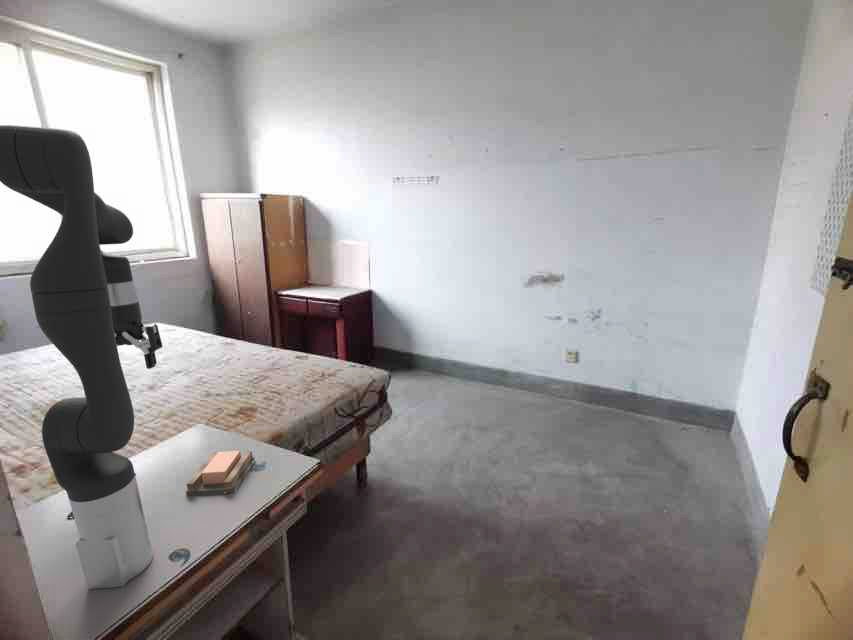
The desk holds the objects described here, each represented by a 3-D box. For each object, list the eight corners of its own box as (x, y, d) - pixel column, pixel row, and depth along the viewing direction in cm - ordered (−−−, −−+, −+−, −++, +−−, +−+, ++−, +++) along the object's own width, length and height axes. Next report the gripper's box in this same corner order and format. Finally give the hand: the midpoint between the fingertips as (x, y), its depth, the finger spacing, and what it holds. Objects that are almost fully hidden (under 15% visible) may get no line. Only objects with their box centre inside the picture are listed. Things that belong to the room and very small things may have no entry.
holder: (234, 492, 95) (232, 481, 94) (186, 495, 94) (184, 484, 94) (255, 460, 107) (253, 450, 107) (212, 463, 107) (210, 452, 106)
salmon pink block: (220, 462, 105) (218, 452, 105) (241, 461, 106) (239, 450, 105) (203, 484, 97) (201, 473, 96) (226, 482, 97) (225, 471, 96)
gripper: (160, 297, 97) (172, 362, 101) (98, 300, 96) (113, 364, 100) (139, 303, 90) (153, 373, 93) (73, 306, 89) (90, 375, 93)
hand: (132, 368), depth 97 cm, fingers open, 8 cm apart
